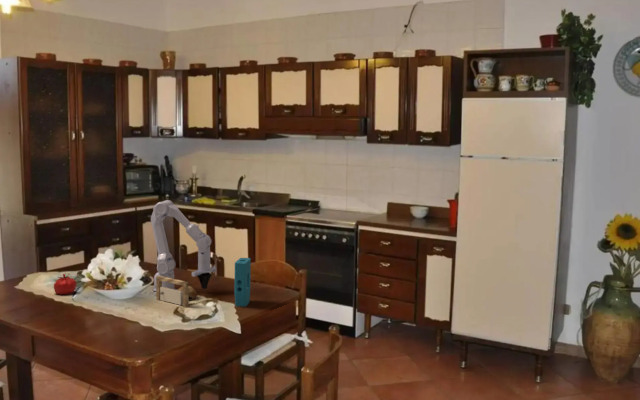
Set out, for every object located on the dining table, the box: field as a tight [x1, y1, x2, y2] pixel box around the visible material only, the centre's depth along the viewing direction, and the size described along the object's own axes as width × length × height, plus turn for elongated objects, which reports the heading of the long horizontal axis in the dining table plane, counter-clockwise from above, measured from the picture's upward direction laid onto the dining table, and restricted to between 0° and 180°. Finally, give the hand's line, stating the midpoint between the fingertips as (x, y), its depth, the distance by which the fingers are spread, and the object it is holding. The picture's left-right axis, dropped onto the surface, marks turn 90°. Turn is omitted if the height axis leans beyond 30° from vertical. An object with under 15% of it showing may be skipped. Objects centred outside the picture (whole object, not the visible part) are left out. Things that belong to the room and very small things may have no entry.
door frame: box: [155, 276, 189, 308], centre depth 274 cm, size 19×2×11 cm, turn 55°
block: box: [234, 257, 252, 307], centre depth 275 cm, size 12×5×20 cm, turn 174°
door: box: [159, 287, 183, 306], centre depth 274 cm, size 15×2×6 cm, turn 55°
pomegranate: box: [53, 273, 78, 295], centre depth 287 cm, size 10×10×9 cm
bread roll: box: [177, 285, 198, 302], centre depth 282 cm, size 10×10×8 cm
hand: (204, 288), depth 292 cm, fingers closed
